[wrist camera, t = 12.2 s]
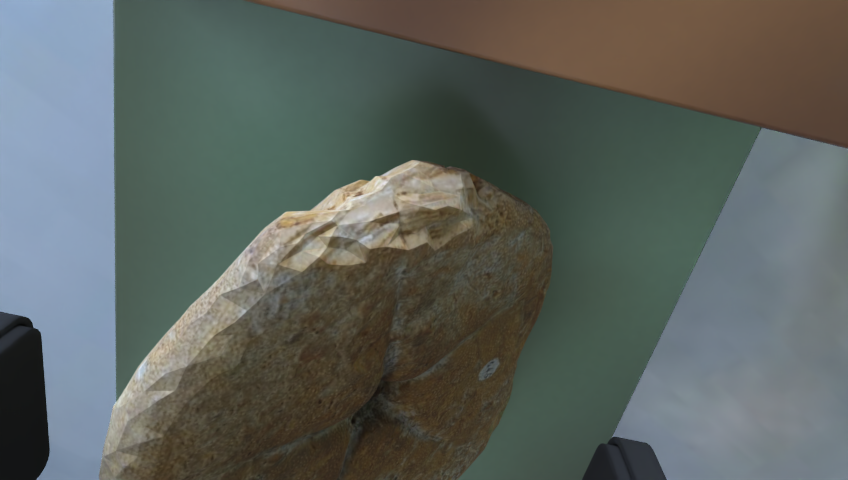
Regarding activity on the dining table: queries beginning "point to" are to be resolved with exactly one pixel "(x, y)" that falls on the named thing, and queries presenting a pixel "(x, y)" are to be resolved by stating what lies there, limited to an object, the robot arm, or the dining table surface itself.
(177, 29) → the step shelf
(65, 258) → the dining table surface
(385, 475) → the fossil
